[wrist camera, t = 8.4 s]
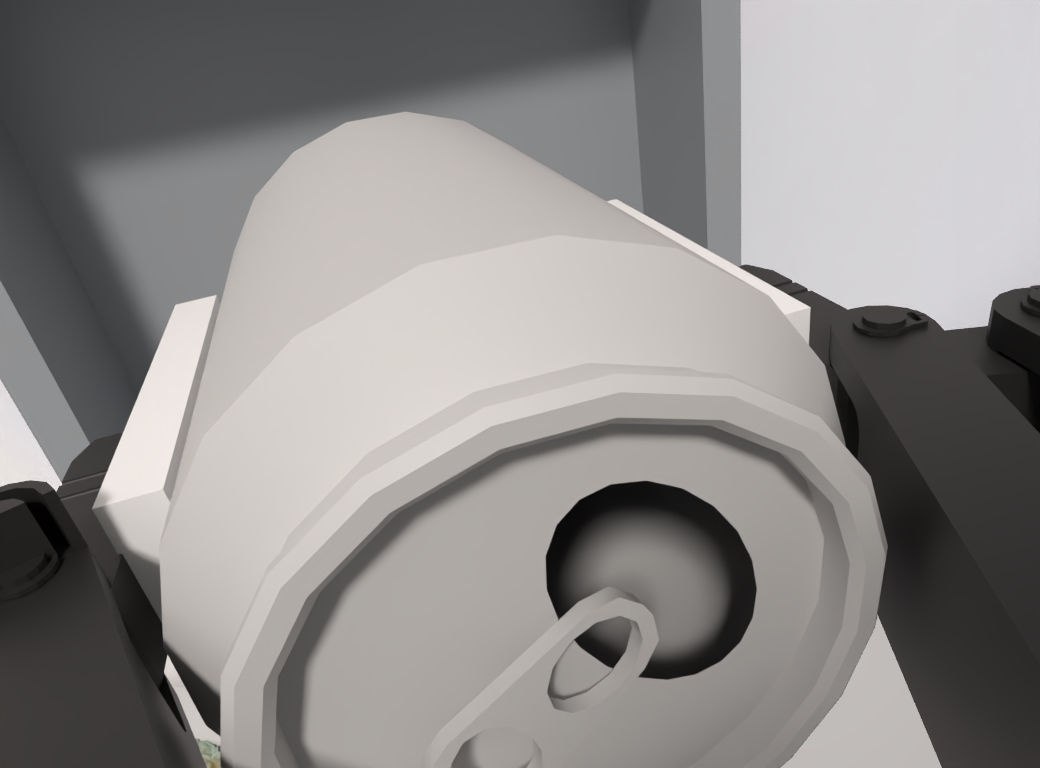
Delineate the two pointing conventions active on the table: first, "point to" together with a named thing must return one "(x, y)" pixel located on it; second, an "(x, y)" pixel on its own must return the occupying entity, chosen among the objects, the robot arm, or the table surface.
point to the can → (504, 482)
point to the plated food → (195, 720)
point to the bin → (293, 124)
